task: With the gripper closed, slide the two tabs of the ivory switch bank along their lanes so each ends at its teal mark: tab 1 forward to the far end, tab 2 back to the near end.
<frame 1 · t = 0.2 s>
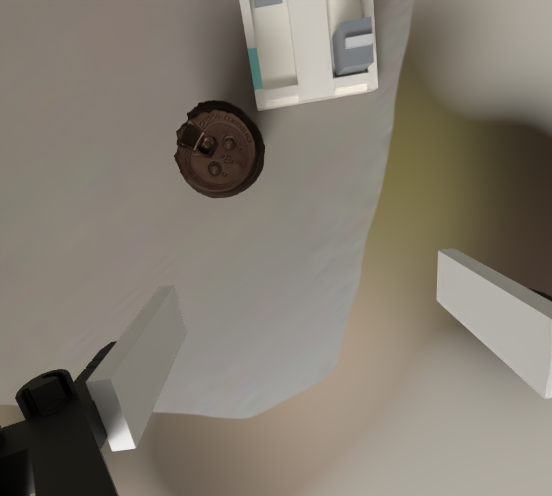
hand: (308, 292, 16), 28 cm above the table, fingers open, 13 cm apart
switch bank: (303, 5, 35), on the table
tab 2: (352, 48, 33), point 4 cm above the table, slide at 8.0 cm
coffee cup: (232, 150, 40), on the table
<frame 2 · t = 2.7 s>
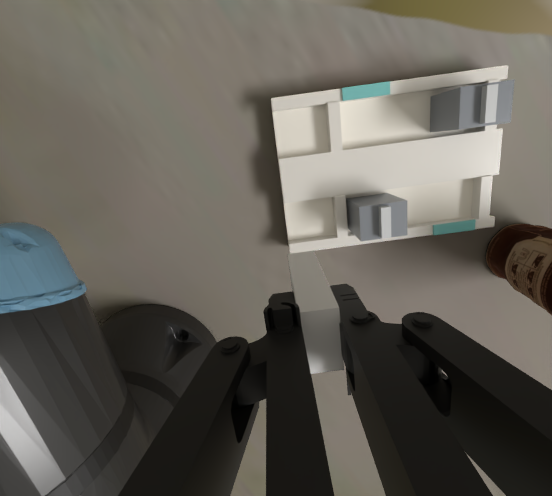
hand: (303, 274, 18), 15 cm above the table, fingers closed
tab 1: (375, 216, 28), point 4 cm above the table, slide at 0.0 cm
switch bank: (380, 165, 31), on the table
tab 2: (470, 108, 26), point 4 cm above the table, slide at 8.0 cm
coffee cup: (510, 251, 34), on the table
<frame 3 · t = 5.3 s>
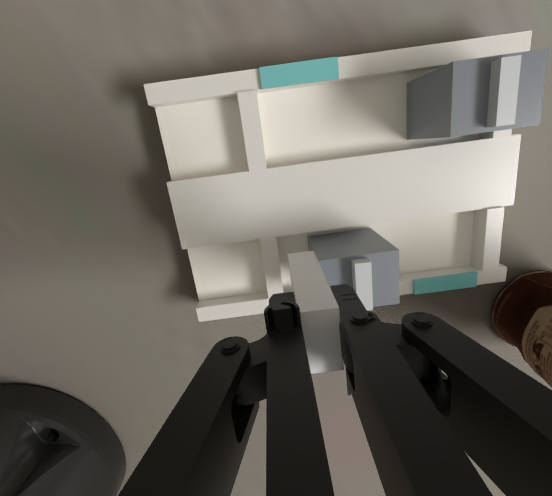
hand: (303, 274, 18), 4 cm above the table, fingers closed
tab 1: (350, 268, 18), point 4 cm above the table, slide at 1.7 cm, touching gripper
switch bank: (335, 188, 20), on the table
tab 2: (469, 100, 15), point 4 cm above the table, slide at 8.0 cm
coffee cup: (526, 307, 24), on the table
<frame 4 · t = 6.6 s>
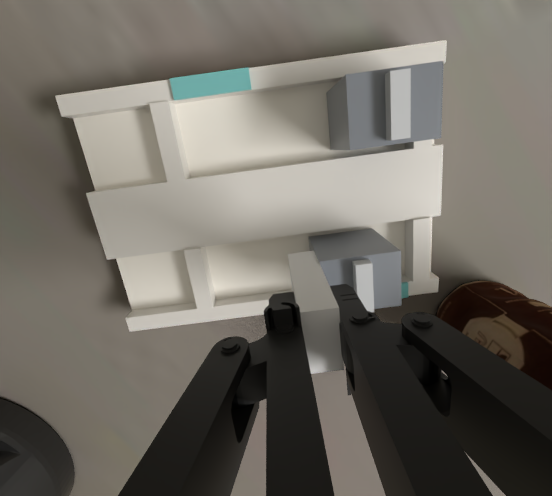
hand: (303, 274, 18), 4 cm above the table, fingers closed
tab 1: (351, 269, 18), point 4 cm above the table, slide at 6.2 cm, touching gripper
switch bank: (267, 197, 20), on the table
tab 2: (379, 112, 15), point 4 cm above the table, slide at 8.0 cm
coffee cup: (470, 316, 24), on the table
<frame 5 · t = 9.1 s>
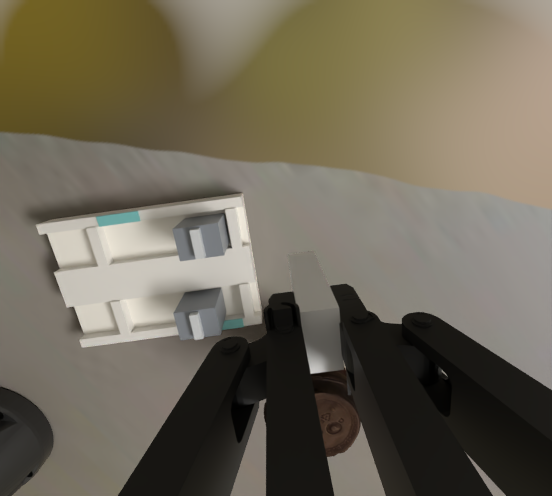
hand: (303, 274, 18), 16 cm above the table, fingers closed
tab 1: (201, 313, 32), point 4 cm above the table, slide at 6.2 cm
switch bank: (163, 268, 35), on the table
tab 2: (202, 236, 29), point 4 cm above the table, slide at 8.0 cm
coffee cup: (299, 336, 38), on the table
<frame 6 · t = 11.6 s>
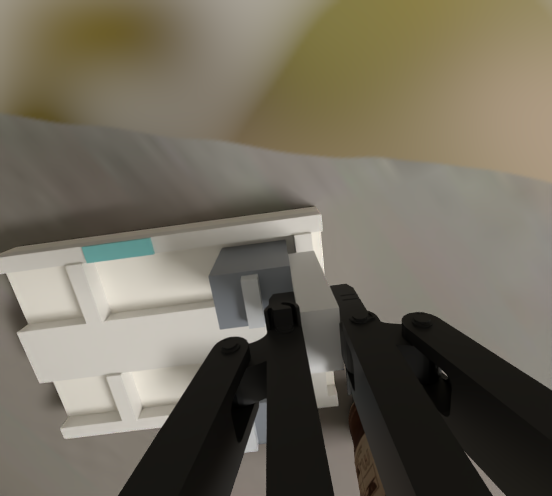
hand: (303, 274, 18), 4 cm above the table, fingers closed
tab 1: (250, 399, 20), point 4 cm above the table, slide at 6.2 cm
switch bank: (187, 319, 23), on the table
tab 2: (255, 282, 17), point 4 cm above the table, slide at 7.8 cm, touching gripper
coffee cup: (382, 412, 26), on the table
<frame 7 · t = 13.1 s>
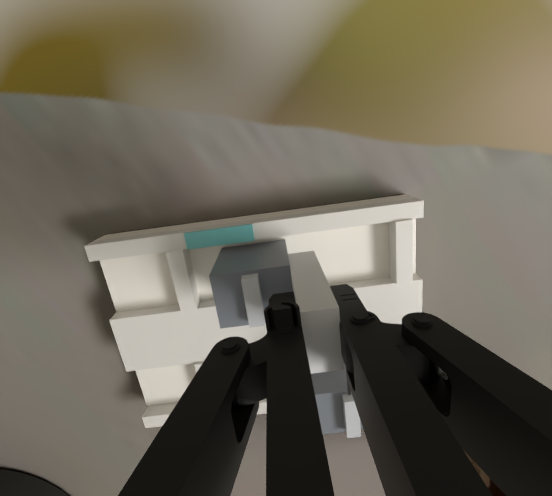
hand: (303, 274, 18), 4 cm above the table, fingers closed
tab 1: (342, 386, 20), point 4 cm above the table, slide at 6.2 cm
switch bank: (268, 308, 23), on the table
tab 2: (255, 282, 18), point 4 cm above the table, slide at 1.8 cm, touching gripper
coffee cup: (452, 402, 26), on the table
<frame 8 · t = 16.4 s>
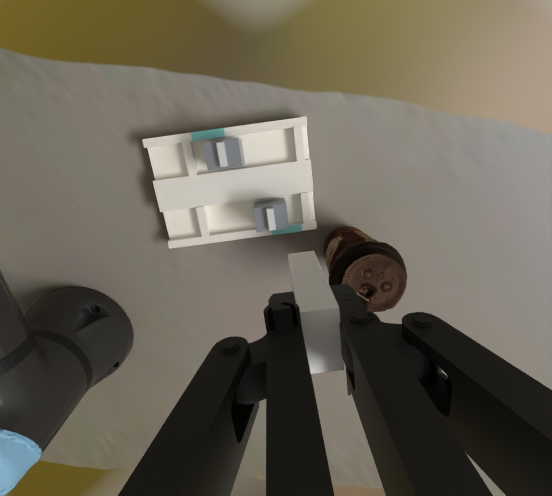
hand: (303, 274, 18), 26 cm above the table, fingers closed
tab 1: (271, 215, 39), point 4 cm above the table, slide at 6.2 cm
switch bank: (235, 184, 42), on the table
tab 2: (224, 154, 37), point 4 cm above the table, slide at 1.8 cm
coffee cup: (343, 247, 45), on the table
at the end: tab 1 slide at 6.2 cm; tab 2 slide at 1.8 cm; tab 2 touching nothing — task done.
